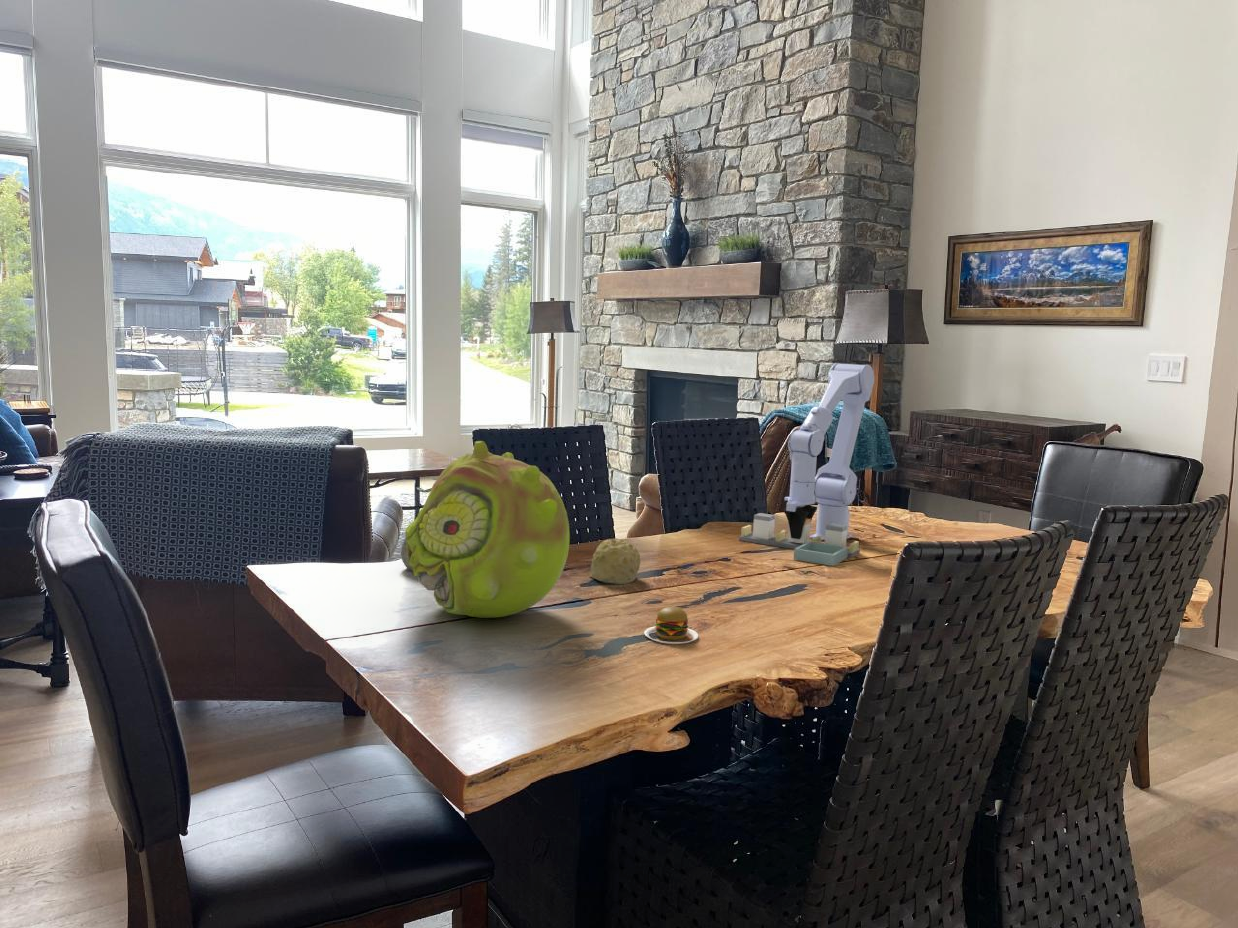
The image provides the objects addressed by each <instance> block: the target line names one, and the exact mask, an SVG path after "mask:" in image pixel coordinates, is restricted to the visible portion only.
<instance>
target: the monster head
mask: <svg viewBox="0 0 1238 928" xmlns="http://www.w3.org/2000/svg"><path fill="white" fill-rule="evenodd" d="M568 517H569V516H568V512H567V509H566V507H565V504H564V502H563V499H562V498H561V496H560V493H559V492H558V490H557V488H556V486H555V484H554V483H553V482H552V481H551V479H549V477H548V476H547V475H545V474H544V473H543V472H542V471H541V470H540V469H539V467H538V466H536V465H530V464H528V463H526V462H524V461H521V460H517V459H515V457H514V454H513V453H512V452H509V451H508V452H507V451H506V452H505V453H502V455H497V454H493V453H491V452H489V449H488V445H487V444H486V442H485V441H484V440H478V441H474V445H473V452H472V453H466V454H464V455H462V456H460V457H458V458H457V459H455V460H453V461H452V462H451V463H450V464H448V466H447V467H445V469H443V470H442V471H441V473H440V474H439V476H438V478H436V480H435V481H434V483H433V484H432V487H431V488H430V491H429V494H428V496H427V499H426V501H425V503H424V504H423V507H422V508H421V509H420V510H419V511H418V514H417V517H416V518H415V519H414V520H413V521H412V522H411V523H410V524H409V525H408V526H407V527H406V528H405V530H404V531H405V536H406V539H405V538H404V539H405V540H406V541H407V545H406V555H407V558H408V562H409V564H410V565H411V566H412V567H413V577H417V581H418V582H419V583H420V585H422V586H423V587H424V588H425V589H426V590H427V591H433V596H434V600H435V602H436V603H437V605H438V606H440V607H442V608H443V609H444V610H445V611H446V612H447V613H449V614H451V615H459V616H460V615H461V616H468V617H473V618H482V619H483V618H484V619H486V618H487V619H488V618H489V619H490V618H502V617H507V616H508V617H509V616H512V615H515V614H518V613H520V612H523V611H527V610H528V609H529V608H531V607H533V606H535V605H536V604H537V603H539V602H540V601H542V600H543V599H544V598H545V597H546V596H547V595H548V594H549V593H550V592H551V591H552V590H553V588H555V585H556V584H557V583H558V581H559V580H560V578H561V576H562V574H563V571H564V568H565V566H566V564H567V559H568V556H569V550H570V549H569V548H570V539H571V538H570V535H571V534H570V523H569V518H568Z"/></svg>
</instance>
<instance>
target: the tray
mask: <svg viewBox="0 0 1238 928" xmlns="http://www.w3.org/2000/svg"><path fill="white" fill-rule="evenodd" d="M848 547H849V546H846V547H844V546H837V545H831V544H825V542H824V543H823V542H821V543H818V542H812V541H810V540H809V542H807V543H805V544H803V545H801V546H799V547H797V548H795V549H793V560H794V561H800V562H805V563H811V564H819V565H822V566H823V565H824V566H830V567H835V566H836V565H838V564H840V563H841V562H843V561H845V560H846V559H848V558H847V556H848Z"/></svg>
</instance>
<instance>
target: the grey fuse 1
mask: <svg viewBox="0 0 1238 928" xmlns="http://www.w3.org/2000/svg"><path fill="white" fill-rule="evenodd" d="M775 520H776V514H771V513H770V514H768V513H763V512H759V513H756V514H754V515H753V526H752V527H753V529H752V533H753V537H755V538H761V539H767V540H768V539H771V538H773V537H774V536H775V523H776V522H775Z"/></svg>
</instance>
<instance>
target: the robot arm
mask: <svg viewBox="0 0 1238 928" xmlns="http://www.w3.org/2000/svg"><path fill="white" fill-rule="evenodd" d="M827 376H828V377H827V382H828V385H827V388H826V389H825V392H824V394H823V396H822V398H821V400H820V402H819V405H818V406H814V407H812V408H811V409H810V411H809V413H808V414H807V417H806V418H805V419H804V421H803V422H802V424H801V425H800V428H799V429H796V430H795V431H792V433H790V436H789V438H788V441H787V448H788V451H789V460H790V461H791V468H790V469H791V470H790V471H791V472H790V485H789V496H785V497H784V501H786V507H784V509H783V512H784V515H785V516H786V519H787V522H788V528H789V527H790V534H791V538H794V539H800V538H801V535H802V531H803V526H804V522H805V519H806V518H810V519H811V522H812V520H813V518H814V515H815V513H816V512H817V513H816V514H817V515H816V526H815V527H816V528H815V533H814V534H812V535H810V536H809V539H812V538H814V537H816V536H818V535H819V536H822V539H821V541H825V531H826V525H828V524H830V523H834V524H841V525H847V537H846V540H848V539H850V538H852V537H853V535H852V534H849V530H850V529H849V528H850V519H851V518H850V517H851V516H850V515H851V513H850V508H849V506H851V503H852V502H854V500H855V498H856V496H857V495H856V494H857V482H858V476H857V475H856V473H855V472H854V471H853V470H852V469H851V468H850V465H851V463H852V462H851V461H852V457H853V453H854V449H855V445H856V441H857V436H858V433H859V428H860V424H861V420H862V417H863V413H864V408H865V404H866V402H868V401H869V400H871V399H870V398H871V395H872V392H873V388H874V384H875V380H876V379H875V373H874V369H873V368H872V365H870V364H853V363H852V364H850V363H840V362H834V363H833V364H832V365H831V367H830V369H829V371H828V375H827ZM841 401H842V404H843V405H842V409H841V412H840V416H839V421H838V423H837V424H838V425H837V428H836V433H835V435H834V441H833V445H832V448H831V452H830V457H829V460H828V462H827V463H826V464H824V465H822V466H821V467H819V468H818V469H817V460H818V459H817V456H818V455H820V454H821V452H822V450H823V446H824V441H825V434H826V432H827V431H828V429H829V427H830V426H831V425H832V423H833V421H834V416H833V412H834V410H836V408H837V406H838V405H839V404H840V403H841ZM816 503H817V506H815V504H816ZM811 522H810V524H811Z"/></svg>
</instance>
